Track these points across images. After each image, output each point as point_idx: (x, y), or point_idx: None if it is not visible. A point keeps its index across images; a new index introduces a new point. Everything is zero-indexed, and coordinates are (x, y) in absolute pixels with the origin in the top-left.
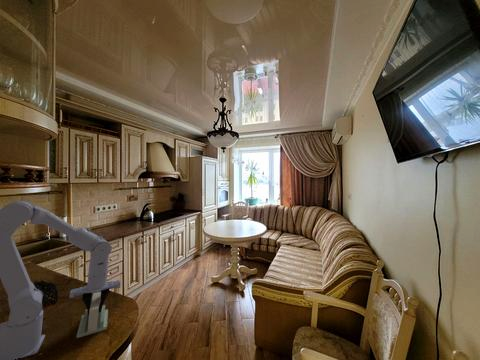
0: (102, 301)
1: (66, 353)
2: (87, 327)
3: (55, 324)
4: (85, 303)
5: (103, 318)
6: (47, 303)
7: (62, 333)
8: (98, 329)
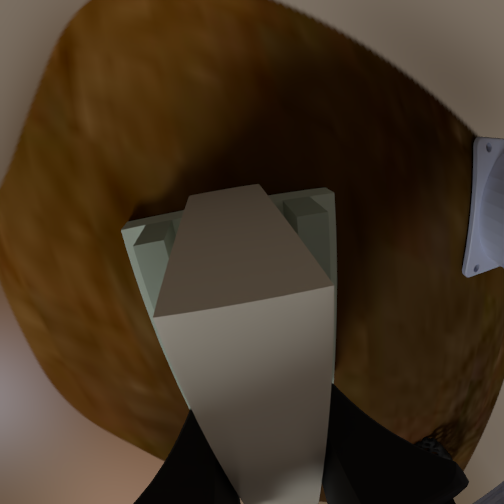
0: (186, 463)
1: (341, 46)
2: None
3: (426, 350)
4: (395, 440)
5: (153, 294)
6: (435, 440)
7: (404, 272)
8: (181, 216)
